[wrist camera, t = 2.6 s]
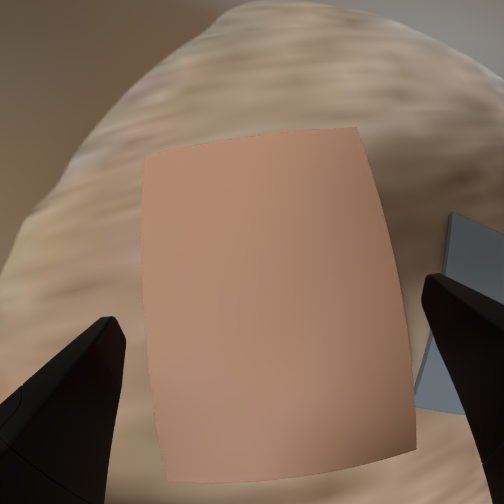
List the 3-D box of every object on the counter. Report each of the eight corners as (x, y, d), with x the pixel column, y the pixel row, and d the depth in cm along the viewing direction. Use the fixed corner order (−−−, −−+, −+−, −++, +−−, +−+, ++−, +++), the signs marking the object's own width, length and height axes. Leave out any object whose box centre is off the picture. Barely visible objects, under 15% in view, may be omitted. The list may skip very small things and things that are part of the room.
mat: (516, 420, 13) (521, 421, 13) (408, 404, 15) (411, 406, 14) (544, 259, 16) (548, 258, 15) (449, 214, 18) (452, 212, 17)
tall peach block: (321, 377, 13) (416, 448, 3) (241, 387, 13) (166, 481, 3) (305, 267, 14) (356, 127, 5) (228, 277, 14) (144, 155, 5)
